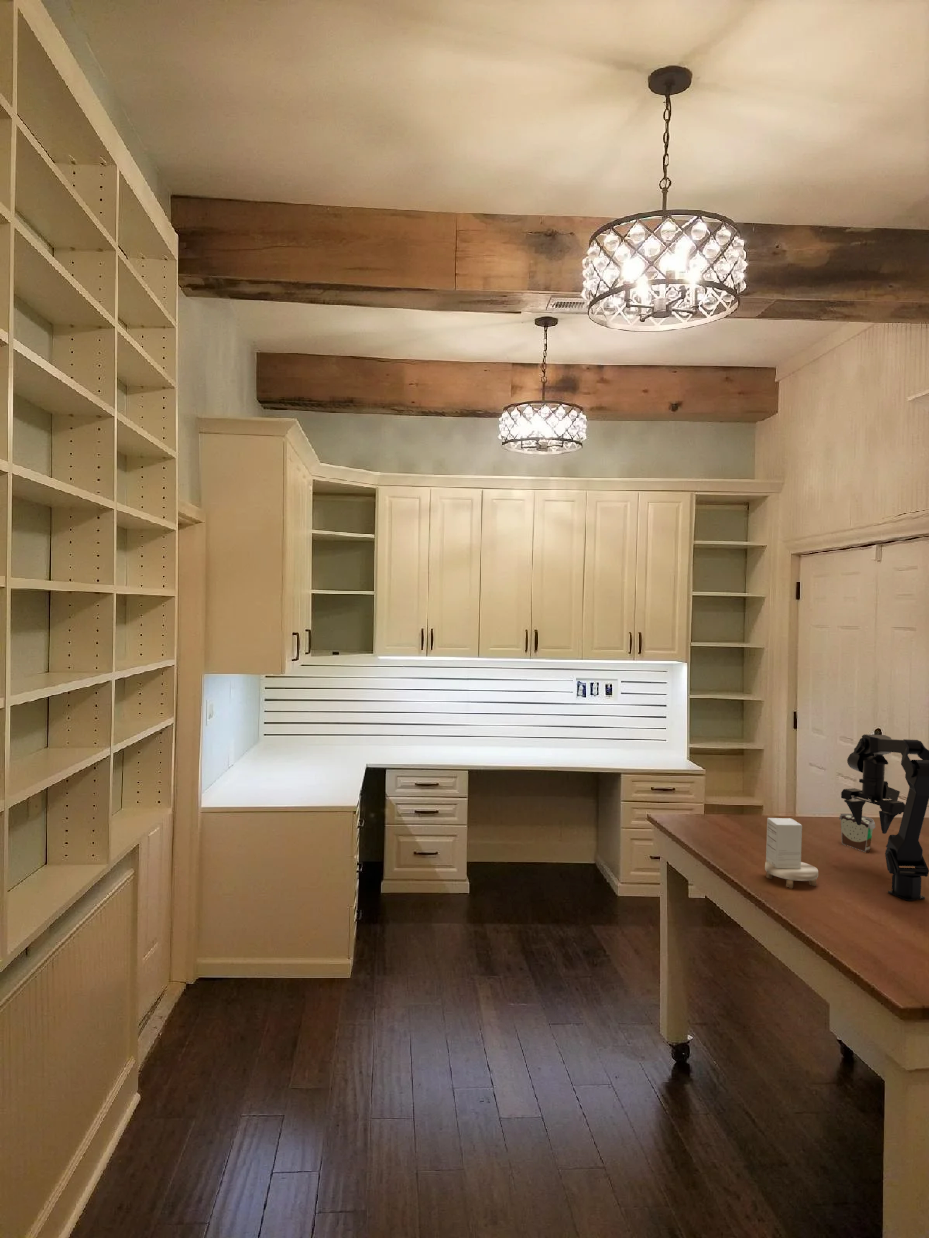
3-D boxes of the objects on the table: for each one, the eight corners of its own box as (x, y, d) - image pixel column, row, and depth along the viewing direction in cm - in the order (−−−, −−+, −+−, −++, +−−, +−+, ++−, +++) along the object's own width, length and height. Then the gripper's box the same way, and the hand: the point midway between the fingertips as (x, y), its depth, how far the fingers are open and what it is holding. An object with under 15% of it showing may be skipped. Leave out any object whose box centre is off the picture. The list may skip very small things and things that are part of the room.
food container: (883, 852, 255) (884, 821, 255) (869, 853, 253) (870, 822, 252) (851, 841, 266) (852, 811, 266) (838, 842, 264) (839, 813, 264)
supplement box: (790, 860, 230) (791, 817, 230) (801, 869, 222) (803, 824, 222) (765, 860, 230) (766, 817, 229) (775, 868, 222) (777, 824, 222)
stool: (829, 887, 220) (829, 873, 220) (788, 891, 215) (789, 877, 215) (792, 870, 233) (793, 857, 233) (754, 874, 228) (754, 861, 228)
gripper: (921, 782, 227) (919, 836, 227) (868, 769, 245) (866, 819, 245) (891, 784, 223) (889, 838, 224) (840, 770, 241) (838, 821, 241)
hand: (871, 829), depth 233 cm, fingers open, 9 cm apart
